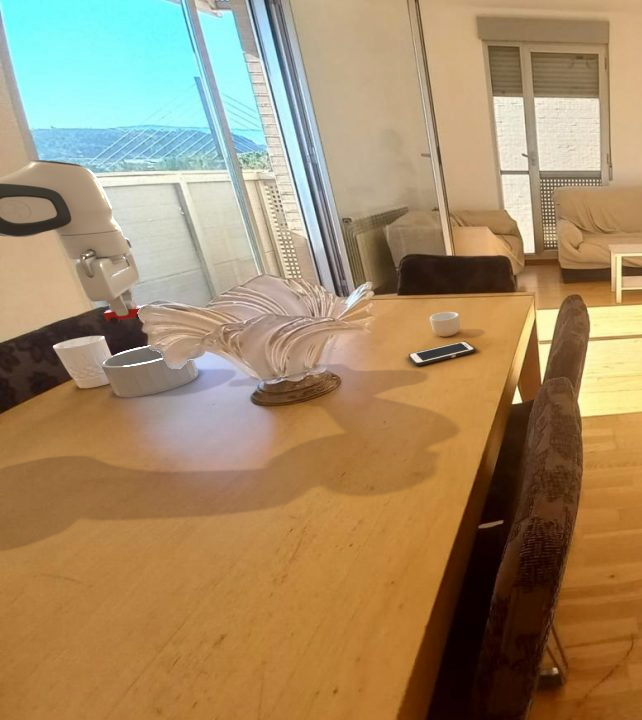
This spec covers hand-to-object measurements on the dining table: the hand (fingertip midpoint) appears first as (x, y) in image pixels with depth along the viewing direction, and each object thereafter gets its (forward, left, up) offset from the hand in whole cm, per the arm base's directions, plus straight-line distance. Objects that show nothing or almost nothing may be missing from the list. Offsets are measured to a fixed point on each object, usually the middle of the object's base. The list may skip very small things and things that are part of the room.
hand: (127, 312), depth 101 cm
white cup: (-12, +9, -17) cm, 22 cm away
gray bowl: (0, 0, -17) cm, 17 cm away
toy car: (0, 0, -2) cm, 2 cm away
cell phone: (+58, -22, -17) cm, 64 cm away
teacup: (+63, -5, -17) cm, 65 cm away
